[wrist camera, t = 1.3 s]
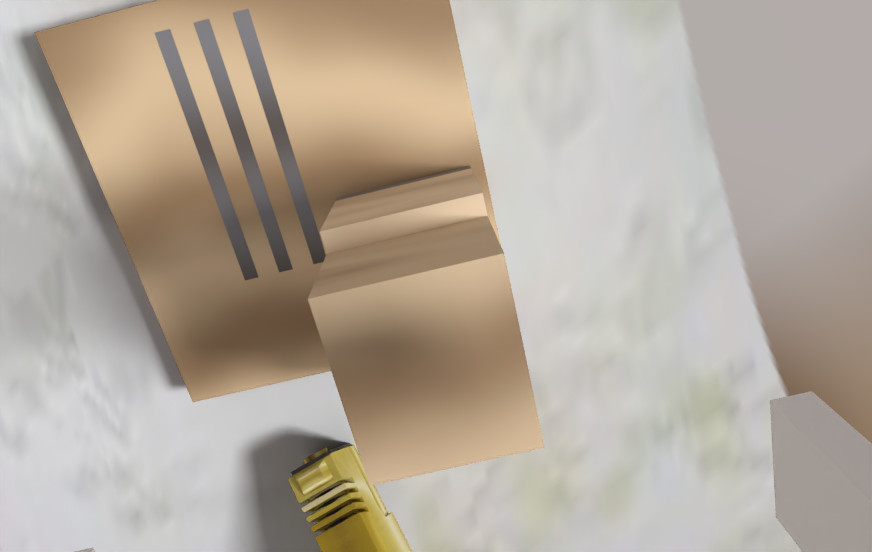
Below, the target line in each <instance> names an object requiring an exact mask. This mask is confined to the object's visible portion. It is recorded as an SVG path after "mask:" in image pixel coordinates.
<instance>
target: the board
mask: <svg viewBox="0 0 872 552" xmlns="http://www.w3.org/2000/svg"><path fill="white" fill-rule="evenodd" d="M35 35H36V37H37V39H38V42H39V44H40V46H41V49H42V51H43V53H44V56H45V58H46V60H47V63H48V65H49V67H50V70H51V72H52V74H53V77H54V79H55V81H56V84H57V86H58V88H59V91H60V93H61V95H62V98H63V100H64V102H65V105H66V107H67V109H68V112H69V114H70V116H71V119H72V121H73V123H74V126H75V128H76V130H77V133H78V135H79V137H80V140H81V142H82V144H83V147H84V149H85V151H86V154H87V156H88V158H89V161H90V163H91V165H92V168H93V170H94V172H95V175H96V177H97V179H98V182H99V184H100V186H101V189H102V191H103V193H104V196H105V198H106V200H107V203H108V205H109V207H110V210H111V212H112V215H113V217H114V219H115V222H116V224H117V226H118V229H119V231H120V233H121V236H122V238H123V240H124V243H125V245H126V247H127V250H128V252H129V254H130V257H131V259H132V261H133V264H134V266H135V268H136V271H137V273H138V275H139V278H140V280H141V282H142V285H143V287H144V289H145V292H146V294H147V296H148V299H149V301H150V303H151V306H152V308H153V310H154V313H155V315H156V317H157V320H158V322H159V324H160V327H161V329H162V331H163V334H164V336H165V338H166V341H167V343H168V345H169V348H170V350H171V352H172V355H173V357H174V359H175V362H176V364H177V366H178V369H179V371H180V373H181V376H182V378H183V380H184V383H185V385H186V387H187V390H188V392H189V394H190V397H191V399H192V401H193V402H196V401H200V400H205V399H209V398H214V397H218V396H222V395H227V394H231V393H236V392H240V391H244V390H249V389H253V388H258V387H262V386H266V385H271V384H275V383H280V382H284V381H288V380H293V379H297V378H302V377H306V376H310V375H315V374H319V373H324V372H328V371H331V368H330V365H329V362H328V359H327V356H326V353H325V350H324V347H323V344H322V341H321V338H320V335H319V332H318V329H317V326H316V323H315V320H314V317H313V314H312V311H311V308H310V305H309V302H308V297H309V295H310V292H311V290H312V288H313V285H314V283H315V281H316V278H317V276H318V273H319V271H320V269H321V266H322V264H323V262H324V259H325V257H326V255H327V254H326V250H325V247H324V244H323V241H322V238H321V234H320V230H321V228H322V226H323V224H324V222H325V220H326V218H327V216H328V214H329V212H330V210H331V209H332V207H333V205H334V203H335V201H336V199H337V198H338V197H342V196H346V195H350V194H354V193H358V192H362V191H367V190H371V189H375V188H379V187H383V186H387V185H391V184H396V183H400V182H404V181H408V180H412V179H416V178H420V177H425V176H429V175H433V174H437V173H441V172H445V171H449V170H454V169H458V168H462V167H466V166H470V167H471V169H472V171H473V173H474V176H475V178H476V180H477V182H478V184H479V186H480V188H481V190H482V192H483V197H484V201H485V206H486V211H487V215H488V218H489V220H490V223H491V225H492V227H493V229H494V232H495V234H496V236H497V239H498V241H499V243H500V240H499V235H498V230H497V226H496V221H495V216H494V211H493V207H492V202H491V197H490V192H489V188H488V183H487V178H486V173H485V168H484V164H483V159H482V154H481V149H480V145H479V140H478V135H477V130H476V125H475V121H474V116H473V111H472V106H471V102H470V97H469V92H468V87H467V83H466V78H465V73H464V68H463V63H462V59H461V54H460V49H459V44H458V40H457V35H456V30H455V25H454V20H453V16H452V11H451V6H450V1H449V0H157V1H153V2H150V3H146V4H142V5H138V6H134V7H130V8H127V9H123V10H119V11H115V12H111V13H107V14H104V15H100V16H96V17H92V18H88V19H84V20H81V21H77V22H73V23H69V24H65V25H61V26H58V27H54V28H50V29H46V30H42V31H38V32H35Z"/></svg>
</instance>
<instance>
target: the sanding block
mask: <svg viewBox="0 0 872 552" xmlns="http://www.w3.org/2000/svg"><path fill="white" fill-rule="evenodd" d="M320 234H321V238H322V241H323V244H324V247H325V250H326V254H327V255H326V257H325V259H324V262H323V264H322V266H321V269H320V271H319V273H318V276H317V278H316V281H315V283H314V285H313V288H312V290H311V292H310V295H309V297H308V302H309V305H310V308H311V311H312V314H313V317H314V320H315V323H316V326H317V329H318V332H319V335H320V338H321V341H322V344H323V347H324V350H325V353H326V356H327V359H328V362H329V365H330V368H331V371H332V374H333V377H334V380H335V383H336V386H337V389H338V392H339V395H340V398H341V401H342V404H343V407H344V410H345V413H346V416H347V419H348V422H349V425H350V428H351V431H352V434H353V437H354V440H355V443H356V446H357V449H358V452H359V455H360V458H361V461H362V464H363V467H364V470H365V473H366V476H367V479H368V482H369V485H370V486H371V485H375V484H380V483H385V482H389V481H394V480H398V479H403V478H407V477H412V476H417V475H421V474H426V473H430V472H435V471H440V470H444V469H449V468H453V467H458V466H463V465H467V464H472V463H476V462H481V461H486V460H490V459H495V458H499V457H504V456H509V455H513V454H518V453H522V452H527V451H531V450H536V449H541V448H544V443H543V438H542V433H541V428H540V424H539V419H538V414H537V409H536V405H535V400H534V395H533V390H532V385H531V381H530V376H529V371H528V366H527V361H526V357H525V352H524V347H523V342H522V337H521V333H520V328H519V323H518V318H517V313H516V309H515V304H514V299H513V294H512V289H511V285H510V280H509V275H508V270H507V265H506V261H505V256H504V252H503V250H502V248H501V245H500V243H499V241H498V239H497V236H496V234H495V232H494V229H493V227H492V225H491V223H490V220H489V218H488V215H487V211H486V206H485V201H484V197H483V192H482V190H481V188H480V186H479V184H478V182H477V180H476V178H475V176H474V173H473V171H472V169H471V167H470V166H466V167H462V168H458V169H454V170H449V171H445V172H441V173H437V174H433V175H429V176H425V177H420V178H416V179H412V180H408V181H404V182H400V183H396V184H391V185H387V186H383V187H379V188H375V189H371V190H367V191H362V192H358V193H354V194H350V195H346V196H342V197H338V198H337V199H336V201H335V203H334V205H333V207H332V209H331V210H330V212H329V214H328V216H327V218H326V220H325V222H324V224H323V226H322V228H321V230H320Z"/></svg>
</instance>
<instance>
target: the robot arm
mask: <svg viewBox="0 0 872 552" xmlns="http://www.w3.org/2000/svg"><path fill="white" fill-rule="evenodd" d="M770 411H771V431H772V450H773V469H774V489H775V508H776V518H777V519H778V520H779V522H780V523H781V524H782V525H783V527H784V528H785V529H786V531H787V532H788V533H789V535H790V536H791V537H792V539H793V540H794V541H795V542H796V544H797V545H798V546H799V548H800V549H801V550H802V552H872V444H871V443H870V442H869V441H868V440H867V439H865V438H864V437H863V436H862V435H861V434H860V433H859V432H857V431H856V430H855V429H854V428H852V426H851V425H849V424H848V423H847V422H846V421H845V420H844V419H843V418H841V417H840V416H839V415H838V414H837V413H836V412H835V411H833V410H832V409H831V408H830V407H829V406H828V405H827V404H826V403H824V402H823V401H822V400H821V399H820V398H819V397H818V396H816V395H815V394H814V393H813V392H807V393H802V394H797V395H793V396H788V397H784V398H779V399H774V400H770ZM76 552H95V550H94V549H93V548H90V549H85V550H80V551H76Z"/></svg>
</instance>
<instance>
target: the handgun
mask: <svg viewBox="0 0 872 552" xmlns="http://www.w3.org/2000/svg"><path fill="white" fill-rule="evenodd" d="M303 462H304V465H303V466H301V467H299V468H298V469H296V470H294V471H293V472H291V473H292V475H293V476H292V477H290V478H288V481H289V483H290V485H291V487H292V489H293V491H294V494H295V496H296V498H297V500H298V502H299V503H306V502H309V504H307V505H306V506H304V507H302V508H301V509H302V511H303V512H314V514H312V515H310V516H308V517H307V518H306V519H307V521H308V522H318V523H317V524H315V525H314V526H312V527H310V528H311V530H312V532H316V531H323V533H322V534H320V535H318V536H317V537H315V538H316V541H317V543H318V545H319V547H320V549H321V551H322V552H412V550H411V548H410V546H409V544H408V542H407V540H406V538H405V536H404V534H403V532H402V530H401V528H400V526H399V524H398V523H397V521H396V519H395V517H394V515H393V513H389V514H388V512H387V510H386V508H385V506H384V504H383V502H382V500H381V498H380V496H379V494H378V492H377V490H376V488H375V486H374V485H371V486H370V485H369V482H368V479H367V476H366V473H365V470H364V467H363V464H362V461H361V458H360V456H359V454H358V452H357V450H356V448H355V447H354V445H352V446H351V445H350V443H348V444H346V445H342V446H339V447H337V448H334V449H331V450H329V451H328V449H327V448H324V449H322V450H320V451H318V452H316V453H314V454H312V455H311V456H309V457H307V458H306V459H304V460H303Z"/></svg>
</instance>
